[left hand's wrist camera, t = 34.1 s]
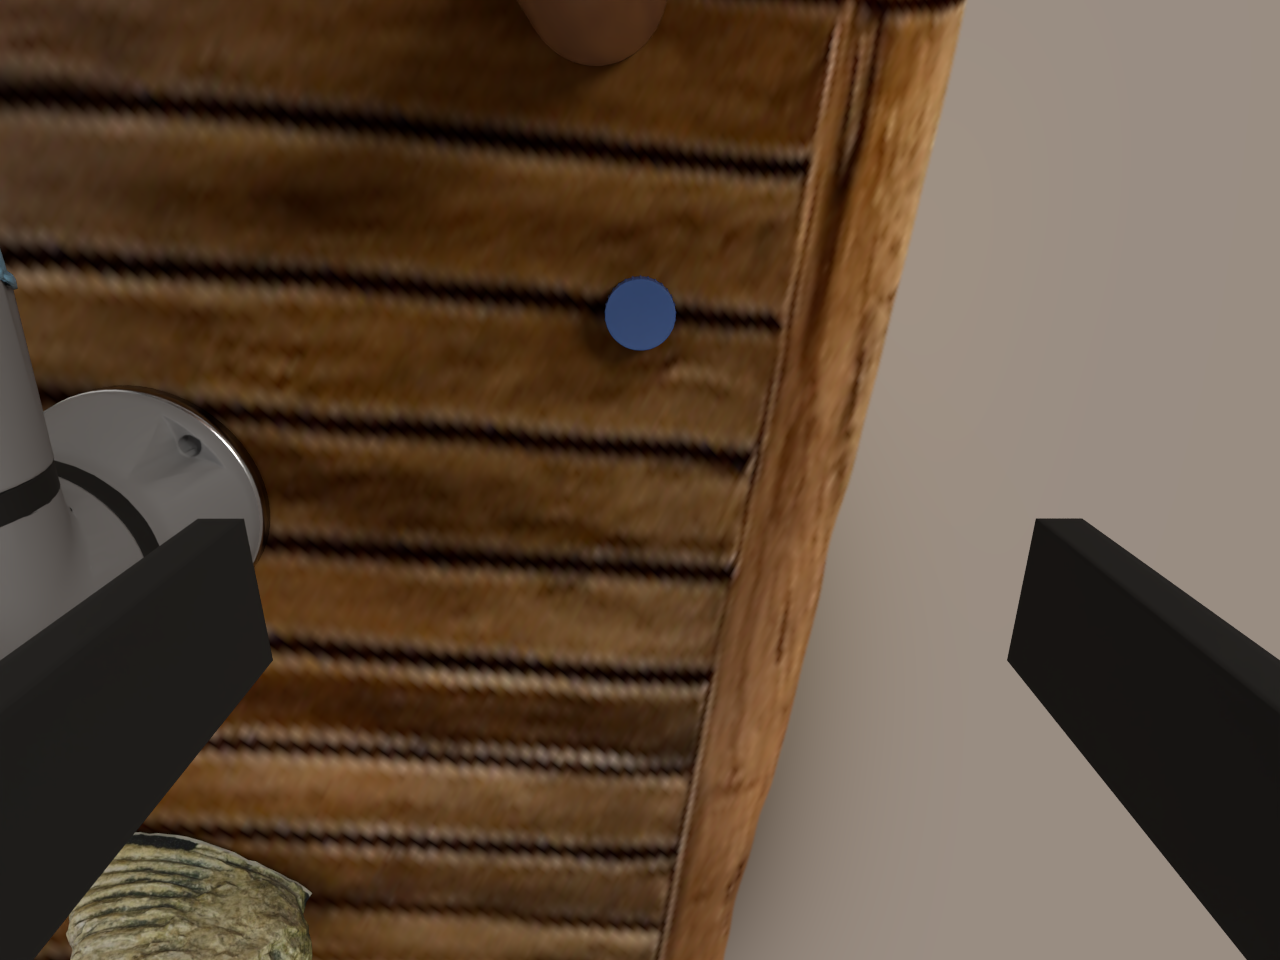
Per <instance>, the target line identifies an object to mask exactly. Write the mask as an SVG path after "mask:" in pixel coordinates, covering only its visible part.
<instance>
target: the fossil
mask: <svg viewBox="0 0 1280 960" xmlns="http://www.w3.org/2000/svg"><path fill="white" fill-rule="evenodd" d="M311 894H312V893H311V892H310V891H309V890H307V889H306V888H305V887H304V886H302V885H301V884H299V883H298V882H296V881H294V880H291V879H289V878H287V877H285V876H284V875H282V874H280V873H278V872H276V871H274V870H272V869H270V868H267V867H265V866H263V865H261V864H260V863H258V862H256V861H251V860H247V859H245V858H244V857H242V856H240V855H238V854H237V853H235V852H232V851H229V850H226V849H224V848H221V847H218V846H215V845H212V844H209V843H206V842H204V841H200V840H197V839H193V838H190V837H185V836H180V835H170V834H160V833H154V834H147V833H142V832H135V833H134V834H133V836H132V837H131V838H130V839H129V841H128V842H127V843H126V844H125V846H124V847H123V848H122V849H121V851H120V852H119V853H118V854H117V856H116V857H115V858H114V859H113V861H112V862H111V863H110V864H109V866H108V867H107V868H106V869H105V871H104V872H103V873H102V874H101V876H100V877H99V878H98V879H97V881H96V882H95V883H94V884H93V886H92V887H91V888H90V889H89V891H88V892H87V893H86V894H85V896H84V897H83V898H82V899H81V901H80V902H79V903H78V904H77V906H76V907H75V908H74V909H73V911H72V912H71V913H70V914H69V920H70V923H69V928H68V931H67V932H66V936H67V938H68V941H69V943H70V945H71V947H72V955H71V959H70V960H312V943H311V939H310V935H309V926H308V924H307V922H306V921H305V919H304V916H303V913H304V910H305V905H306V902H307V900H308V899H309V897H310V895H311Z"/></svg>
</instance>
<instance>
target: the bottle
mask: <svg viewBox="0 0 1280 960" xmlns="http://www.w3.org/2000/svg"><path fill="white" fill-rule="evenodd" d="M517 2H518V4H519V5H520V7H521V9H522V10H523V12H524V13H525V15H526V17H527V18H528V20H529V22H530V23H531V25H532V26H533V28H534V30H535V31H536V33H537V34H538V35H539V37H540V38H541V39H542V40H543V41H544V42H545V43H546V45H547V46H548V47H550V48H551V49H552V50H553V51H555V52H556V53H557V54H559V55H560V56H562V57H564V58H565V59H568V60H570V61H572V62H575V63H579V64H582V65H589V66H604V65H609V64H613V63H616V62H619V61H622V60H624V59H626V58H628V57H630V56H631V55H632V54H634V53H635V52H637V51H638V50H639V49H640V48H641V47H642V46H643V45H645V43H646V42H647V41H648V40H649V39H650V37H651V36H652V35H653V33H654V32H655V30H656V28H657V27H658V25H659V23H660V21H661V18H662V16H663V13H664V10H665V7H666V3H667V0H517Z"/></svg>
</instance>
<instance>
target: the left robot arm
mask: <svg viewBox="0 0 1280 960" xmlns="http://www.w3.org/2000/svg"><path fill="white" fill-rule="evenodd" d="M17 288H18V287H17V283H16V279H15V278H14V276H13V274H11V273H10V272H8V271H7V269H6V266H5V263H4V260H3V256H2V253H1V250H0V960H33V959H34V958H35V957H36V956H37V954H38V953H39V952H40V951H41V949H42V948H43V947H44V946H45V944H46V943H47V942H48V941H49V939H50V938H51V937H52V936H53V934H54V933H55V932H56V931H57V929H58V928H59V927H60V926H61V924H62V923H63V922H64V921H65V919H66V918H67V917H68V916H69V914H70V913H71V912H72V911H73V909H74V908H75V907H76V906H77V904H78V903H79V902H80V901H81V899H82V898H83V897H84V896H85V894H86V893H87V892H88V891H89V889H90V888H91V887H92V886H93V884H94V883H95V882H96V881H97V879H98V878H99V877H100V876H101V874H102V873H103V872H104V871H105V869H106V868H107V867H108V866H109V864H110V863H111V862H112V861H113V859H114V858H115V857H116V856H117V854H118V853H119V852H120V851H121V849H122V848H123V847H124V846H125V844H126V843H127V842H128V841H129V839H130V838H131V837H132V836H133V834H134V833H135V832H136V831H137V829H138V828H139V827H140V826H141V824H142V823H143V822H144V821H145V819H146V818H147V817H148V816H149V814H150V813H151V812H152V811H153V809H154V808H155V807H156V806H157V804H158V803H159V802H160V801H161V799H162V798H163V797H164V796H165V794H166V793H167V792H168V791H169V789H170V788H171V787H172V786H173V784H174V783H175V782H176V781H177V779H178V778H179V777H180V776H181V774H182V773H183V772H184V771H185V769H186V768H187V767H188V766H189V764H190V763H191V762H192V761H193V759H194V758H195V757H196V756H197V754H198V753H199V752H200V751H201V749H202V748H203V747H204V746H205V744H206V743H207V742H208V741H209V739H210V738H211V737H212V736H213V734H214V733H215V732H216V731H217V729H218V728H219V727H220V726H221V724H222V723H223V722H224V721H225V719H226V718H227V717H228V716H229V714H230V713H231V712H232V711H233V709H234V708H235V707H236V706H237V704H238V703H239V702H240V701H241V699H242V698H243V697H244V696H245V694H246V693H247V692H248V691H249V689H250V688H251V687H252V686H253V684H254V683H255V682H256V681H257V679H258V678H259V677H260V676H261V674H262V673H263V672H264V671H265V669H266V668H267V667H268V666H269V664H270V663H271V662H272V661H273V659H272V654H271V649H270V644H269V639H268V634H267V629H266V624H265V619H264V614H263V609H262V605H261V600H260V595H259V590H258V585H257V580H256V575H255V570H254V567H255V565H256V564H257V562H258V561H259V559H260V557H261V555H262V553H263V551H264V548H265V545H266V542H267V538H268V534H269V527H270V509H269V501H268V496H267V492H266V489H265V485H264V482H263V480H262V477H261V475H260V473H259V470H258V469H257V467H256V465H255V463H254V461H253V459H252V458H251V456H250V455H249V453H248V452H247V450H246V449H245V448H244V446H243V445H242V444H241V443H240V441H239V440H238V439H237V438H236V437H235V436H234V435H233V434H232V433H231V432H230V431H229V430H228V429H227V428H226V427H225V426H224V425H223V424H222V423H221V422H219V421H218V420H217V419H216V418H214V417H213V416H212V415H210V414H209V413H207V412H206V411H204V410H203V409H201V408H200V407H198V406H196V405H194V404H192V403H191V402H189V401H187V400H184V399H182V398H180V397H178V396H175V395H172V394H170V393H167V392H163V391H160V390H156V389H152V388H146V387H140V386H128V385H127V386H108V387H102V388H97V389H93V390H90V391H87V392H84V393H81V394H78V395H75V396H72V397H70V398H67V399H65V400H63V401H61V402H59V403H57V404H56V405H54V406H52V407H50V408H49V409H47V410H45V411H44V412H43V409H42V405H41V401H40V397H39V393H38V389H37V385H36V381H35V377H34V373H33V368H32V364H31V360H30V356H29V352H28V348H27V344H26V340H25V336H24V332H23V328H22V323H21V319H20V315H19V311H18V307H17V303H16V299H15V295H14V291H13V290H14V289H17ZM1007 661H1008V662H1009V663H1010V664H1011V666H1012V667H1013V668H1014V669H1015V671H1016V672H1017V673H1018V674H1019V676H1020V677H1021V678H1022V679H1023V681H1024V682H1025V683H1026V684H1027V686H1028V687H1029V688H1030V689H1031V691H1032V692H1033V693H1034V694H1035V696H1036V697H1037V698H1038V699H1039V701H1040V702H1041V703H1042V704H1043V706H1044V707H1045V708H1046V709H1047V711H1048V712H1049V713H1050V714H1051V716H1052V717H1053V718H1054V719H1055V721H1056V722H1057V723H1058V724H1059V726H1060V727H1061V728H1062V729H1063V731H1064V732H1065V733H1066V734H1067V736H1068V737H1069V738H1070V739H1071V741H1072V742H1073V743H1074V744H1075V746H1076V747H1077V748H1078V749H1079V751H1080V752H1081V753H1082V754H1083V756H1084V757H1085V758H1086V759H1087V761H1088V762H1089V763H1090V764H1091V766H1092V767H1093V768H1094V769H1095V771H1096V772H1097V773H1098V774H1099V776H1100V777H1101V778H1102V779H1103V781H1104V782H1105V783H1106V784H1107V786H1108V787H1109V788H1110V789H1111V791H1112V792H1113V793H1114V794H1115V796H1116V797H1117V798H1118V799H1119V801H1120V802H1121V803H1122V804H1123V805H1124V807H1125V808H1126V809H1127V811H1128V812H1129V813H1130V814H1131V816H1132V817H1133V818H1134V819H1135V821H1136V822H1137V823H1138V824H1139V826H1140V827H1141V828H1142V829H1143V831H1144V832H1145V833H1146V834H1147V836H1148V837H1149V838H1150V839H1151V841H1152V842H1153V843H1154V844H1155V846H1156V847H1157V848H1158V849H1159V851H1160V852H1161V853H1162V854H1163V856H1164V857H1165V858H1166V859H1167V861H1168V862H1169V863H1170V864H1171V866H1172V867H1173V868H1174V869H1175V871H1176V872H1177V873H1178V874H1179V876H1180V877H1181V878H1182V879H1183V881H1184V882H1185V883H1186V884H1187V885H1188V887H1189V888H1190V889H1191V891H1192V892H1193V893H1194V894H1195V895H1196V897H1197V898H1198V899H1199V901H1200V902H1201V903H1202V904H1203V906H1204V907H1205V908H1206V909H1207V911H1208V912H1209V913H1210V914H1211V915H1212V917H1213V918H1214V919H1215V921H1216V922H1217V923H1218V924H1219V926H1220V927H1221V928H1222V929H1223V931H1224V932H1225V933H1226V934H1227V936H1228V937H1229V938H1230V939H1231V941H1232V942H1233V943H1234V944H1235V946H1236V947H1237V948H1238V949H1239V951H1240V952H1241V953H1242V954H1243V956H1244V957H1245V958H1246V959H1247V960H1280V660H1279V659H1277V658H1276V657H1274V656H1273V655H1272V654H1270V653H1269V652H1267V651H1266V650H1265V649H1263V648H1262V647H1260V646H1259V645H1258V644H1256V643H1255V642H1254V641H1252V640H1251V639H1249V638H1248V637H1247V636H1245V635H1244V634H1242V633H1241V632H1240V631H1238V630H1237V629H1235V628H1234V627H1233V626H1231V625H1230V624H1228V623H1227V622H1226V621H1224V620H1223V619H1221V618H1220V617H1219V616H1217V615H1216V614H1214V613H1213V612H1212V611H1210V610H1209V609H1207V608H1206V607H1205V606H1203V605H1202V604H1201V603H1199V602H1198V601H1196V600H1195V599H1193V598H1192V597H1191V596H1189V595H1188V594H1187V593H1185V592H1184V591H1182V590H1181V589H1180V588H1178V587H1177V586H1175V585H1174V584H1173V583H1171V582H1170V581H1168V580H1167V579H1166V578H1164V577H1163V576H1161V575H1160V574H1159V573H1157V572H1156V571H1155V570H1153V569H1152V568H1150V567H1149V566H1148V565H1146V564H1145V563H1143V562H1142V561H1141V560H1139V559H1138V558H1136V557H1135V556H1134V555H1132V554H1131V553H1129V552H1128V551H1127V550H1125V549H1124V548H1122V547H1121V546H1120V545H1118V544H1117V543H1115V542H1114V541H1113V540H1111V539H1110V538H1108V537H1107V536H1106V535H1104V534H1103V533H1102V532H1100V531H1099V530H1097V529H1096V528H1095V527H1093V526H1092V525H1090V524H1089V523H1088V522H1086V521H1085V520H1083V519H1036V521H1035V526H1034V531H1033V536H1032V541H1031V545H1030V550H1029V555H1028V560H1027V565H1026V570H1025V575H1024V580H1023V585H1022V590H1021V595H1020V600H1019V605H1018V609H1017V614H1016V619H1015V624H1014V629H1013V634H1012V639H1011V644H1010V649H1009V654H1008V659H1007Z"/></svg>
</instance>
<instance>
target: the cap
mask: <svg viewBox="0 0 1280 960" xmlns="http://www.w3.org/2000/svg"><path fill="white" fill-rule="evenodd" d="M608 298H609V299H608V302H607V301H606V304H605V305H606V309H605V311H604V313H605V321H606V325H607V328H608V330H609V332H610V334H611V335H612V337H613V338H614V339H615V340H616V341H617V342H618V343H619V344H621V345H622V346H624V347H626V348H629V349H632V350H639V351H640V350H649V349H652V348H654V347H656V346H658V345H660V344H661V343H662V342H664V341H665V340H666V339H667V337H668V336H669V335H670V333H671V331H672V329H673V328H674V327H673V326H674V323H675V321H676V319H675V313H676V310H675V307H674V306H675V303H674V302H673V300H672V295H670V293H669V292H668V289H667V288H665V287H664V286H663V284H662V283H659V282H658V281H656V279H652V278H649V276H647V277H642V276H641V275H640V276H639V277H633V276H632V278H629V279H625V280H624V281H623V282H621V283H618V285H617V286H616V287H615V288H613V290H612V293H611V294H609V296H608Z"/></svg>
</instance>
